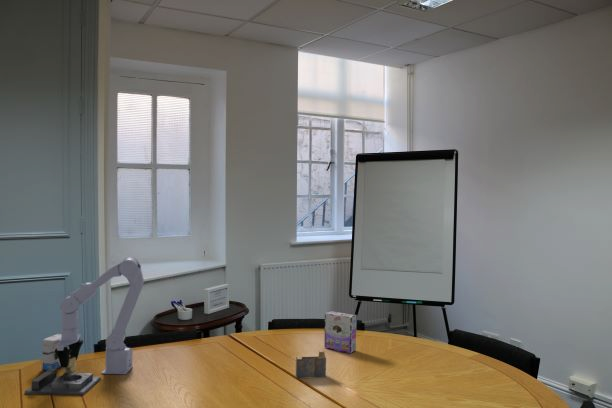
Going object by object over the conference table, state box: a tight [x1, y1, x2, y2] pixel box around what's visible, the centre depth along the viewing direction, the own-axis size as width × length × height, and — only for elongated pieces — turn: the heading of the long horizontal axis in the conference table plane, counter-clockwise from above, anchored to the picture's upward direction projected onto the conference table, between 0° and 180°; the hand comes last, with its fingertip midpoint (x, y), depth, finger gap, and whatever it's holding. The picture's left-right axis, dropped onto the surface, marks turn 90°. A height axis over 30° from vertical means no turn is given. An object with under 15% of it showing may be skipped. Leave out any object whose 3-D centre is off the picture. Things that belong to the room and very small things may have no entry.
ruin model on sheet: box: [295, 350, 327, 379], centre depth 186 cm, size 11×3×10 cm, turn 99°
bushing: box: [62, 356, 77, 375], centre depth 183 cm, size 4×4×6 cm
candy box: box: [323, 310, 358, 354], centre depth 218 cm, size 14×6×16 cm, turn 58°
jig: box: [24, 368, 101, 396], centre depth 171 cm, size 20×14×4 cm
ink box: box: [41, 333, 62, 371], centre depth 190 cm, size 8×5×12 cm, turn 168°
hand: (69, 363), depth 183 cm, fingers open, 7 cm apart
